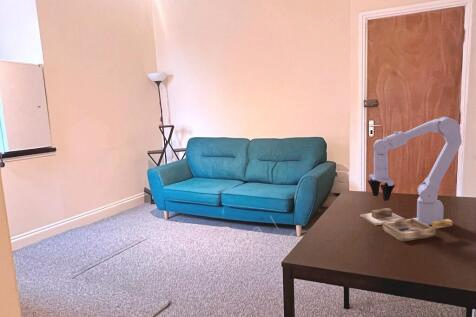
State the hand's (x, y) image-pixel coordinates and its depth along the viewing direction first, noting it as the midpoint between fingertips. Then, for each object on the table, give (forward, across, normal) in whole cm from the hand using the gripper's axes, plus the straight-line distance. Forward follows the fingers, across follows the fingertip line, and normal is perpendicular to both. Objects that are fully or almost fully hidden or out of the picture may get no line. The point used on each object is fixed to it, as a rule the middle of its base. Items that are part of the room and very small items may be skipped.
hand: (380, 198), depth 148 cm
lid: (+9, +1, +1) cm, 10 cm away
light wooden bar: (+5, +25, +8) cm, 27 cm away
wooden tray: (+9, +18, 0) cm, 20 cm away
